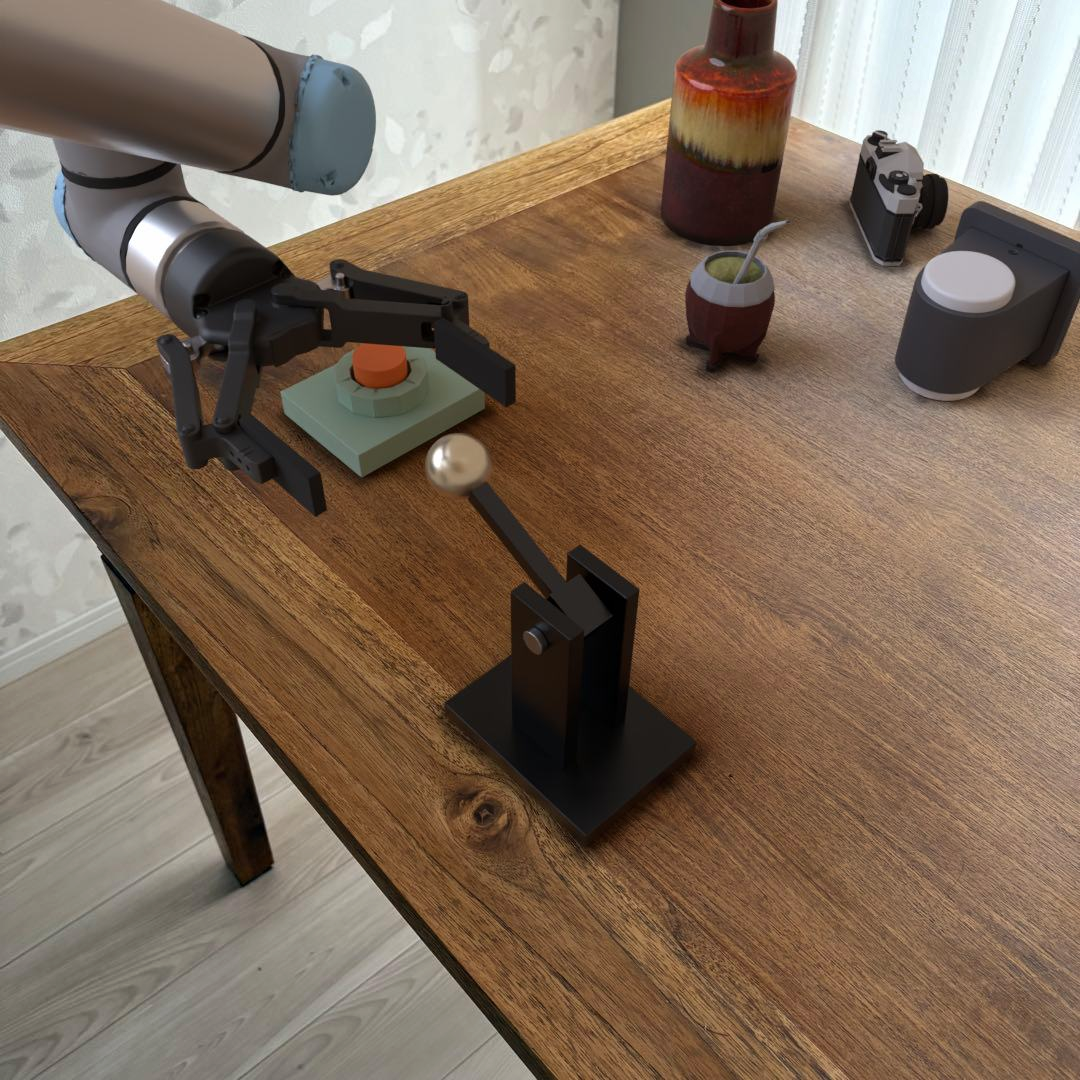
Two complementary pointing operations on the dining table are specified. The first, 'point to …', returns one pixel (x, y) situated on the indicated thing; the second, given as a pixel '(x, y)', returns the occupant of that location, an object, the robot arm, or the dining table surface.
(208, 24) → the robot arm
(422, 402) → the button box
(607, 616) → the switch lever
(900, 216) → the camera
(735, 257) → the mate gourd
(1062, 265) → the light fixture
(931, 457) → the dining table surface
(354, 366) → the button
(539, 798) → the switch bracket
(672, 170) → the vase
